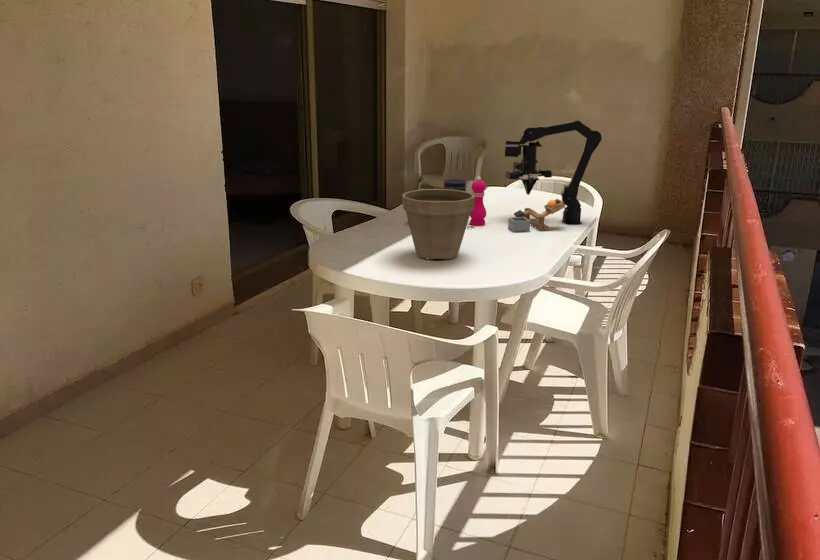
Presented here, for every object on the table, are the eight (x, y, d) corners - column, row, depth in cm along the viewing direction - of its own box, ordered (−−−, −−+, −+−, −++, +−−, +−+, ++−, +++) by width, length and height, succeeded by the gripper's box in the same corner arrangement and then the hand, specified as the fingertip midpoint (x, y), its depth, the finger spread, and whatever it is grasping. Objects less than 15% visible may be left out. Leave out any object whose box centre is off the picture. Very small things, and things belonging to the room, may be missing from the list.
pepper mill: (485, 226, 274) (487, 178, 268) (467, 225, 275) (469, 177, 269) (486, 222, 281) (488, 175, 274) (469, 221, 282) (471, 174, 276)
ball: (555, 202, 270) (550, 197, 269) (559, 204, 267) (553, 199, 265) (550, 209, 270) (544, 204, 269) (553, 211, 267) (547, 206, 266)
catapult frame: (535, 220, 284) (536, 207, 283) (552, 230, 268) (553, 217, 266) (523, 221, 283) (524, 208, 282) (539, 231, 267) (540, 217, 265)
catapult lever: (549, 199, 281) (547, 193, 280) (565, 207, 266) (563, 201, 265) (515, 217, 281) (513, 212, 280) (529, 227, 266) (527, 221, 265)
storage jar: (465, 212, 299) (466, 179, 294) (465, 217, 290) (466, 183, 285) (443, 211, 300) (444, 179, 295) (442, 216, 291) (443, 182, 286)
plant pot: (431, 241, 252) (432, 184, 245) (486, 253, 237) (488, 193, 230) (387, 256, 233) (387, 195, 226) (444, 269, 218) (445, 205, 212)
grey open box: (523, 227, 272) (524, 216, 271) (529, 231, 266) (530, 220, 265) (508, 228, 271) (508, 217, 270) (513, 232, 265) (514, 221, 263)
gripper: (542, 153, 285) (540, 189, 290) (501, 155, 281) (500, 192, 286) (553, 157, 274) (551, 194, 279) (511, 159, 270) (509, 197, 275)
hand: (527, 194), depth 280 cm, fingers closed
